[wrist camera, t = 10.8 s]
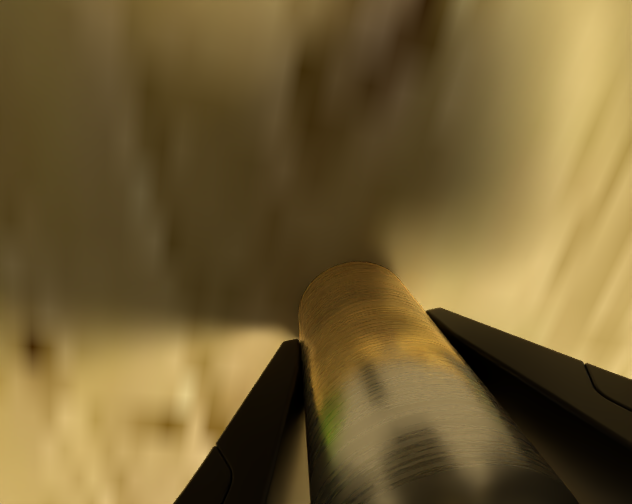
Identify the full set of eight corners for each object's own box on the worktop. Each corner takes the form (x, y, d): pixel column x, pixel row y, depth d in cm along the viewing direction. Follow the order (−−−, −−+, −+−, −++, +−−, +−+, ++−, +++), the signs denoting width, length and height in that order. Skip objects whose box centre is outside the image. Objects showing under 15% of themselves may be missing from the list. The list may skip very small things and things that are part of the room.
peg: (310, 370, 10) (340, 659, 4) (286, 275, 9) (287, 507, 3) (412, 347, 10) (571, 605, 5) (403, 250, 9) (599, 435, 3)
